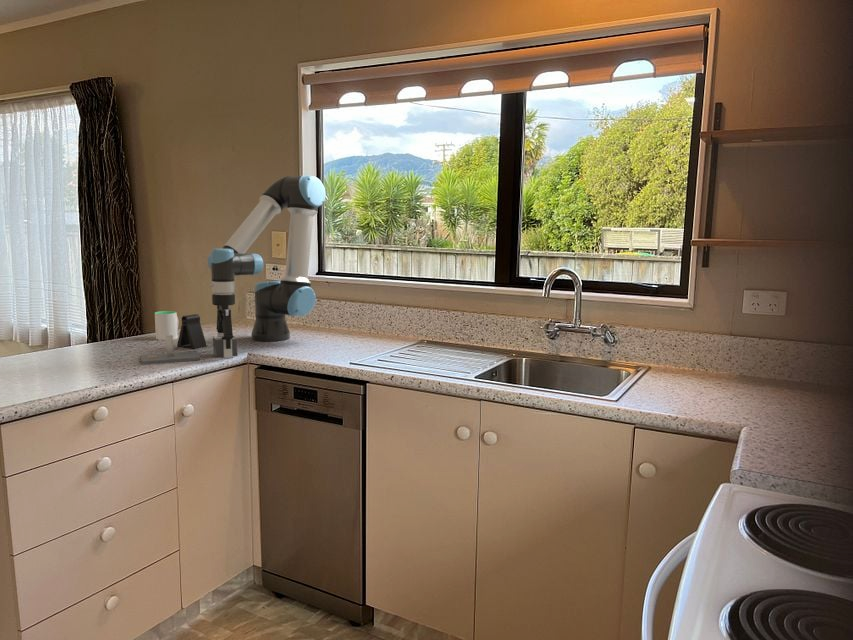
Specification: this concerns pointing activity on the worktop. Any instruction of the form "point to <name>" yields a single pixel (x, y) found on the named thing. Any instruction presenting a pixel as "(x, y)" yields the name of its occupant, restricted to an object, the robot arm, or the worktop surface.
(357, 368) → the worktop surface
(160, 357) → the panel
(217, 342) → the gray square frame
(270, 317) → the robot arm
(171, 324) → the mug
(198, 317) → the phone stand
